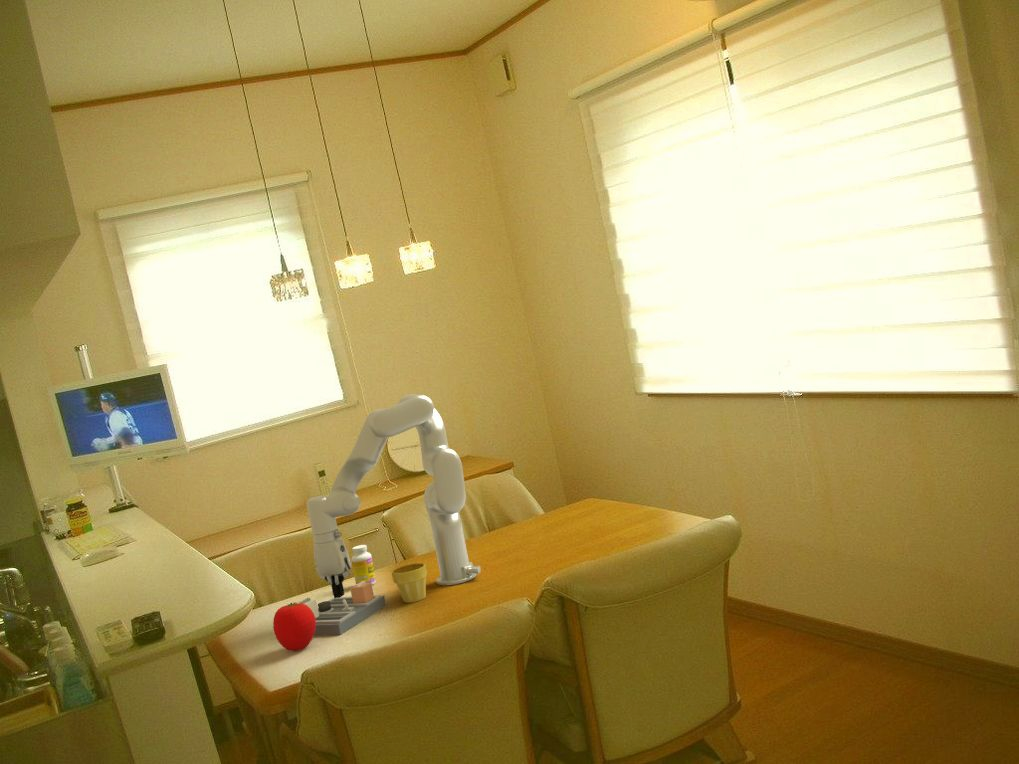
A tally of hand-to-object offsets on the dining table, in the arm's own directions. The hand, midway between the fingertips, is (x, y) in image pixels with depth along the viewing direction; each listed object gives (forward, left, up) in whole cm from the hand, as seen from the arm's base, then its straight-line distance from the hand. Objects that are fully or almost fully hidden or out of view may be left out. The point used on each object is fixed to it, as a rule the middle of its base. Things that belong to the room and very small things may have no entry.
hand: (339, 596), depth 304 cm
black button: (0, +7, -1) cm, 7 cm away
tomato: (-6, +29, -5) cm, 30 cm away
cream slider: (+1, +14, -2) cm, 15 cm away
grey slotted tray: (-4, +7, -5) cm, 10 cm away
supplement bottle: (+9, -28, -5) cm, 30 cm away
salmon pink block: (-9, 0, -2) cm, 9 cm away
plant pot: (-20, -10, -5) cm, 22 cm away
